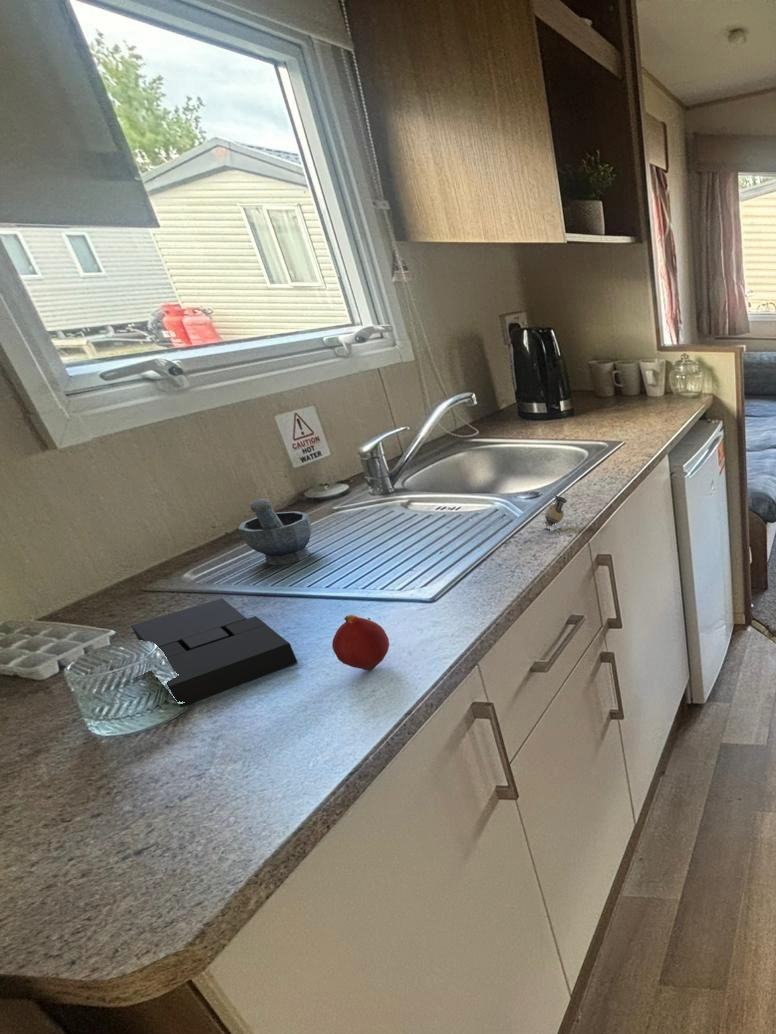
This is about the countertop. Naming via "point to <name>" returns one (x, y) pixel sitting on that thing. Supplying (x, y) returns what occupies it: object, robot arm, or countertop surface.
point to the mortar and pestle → (277, 533)
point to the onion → (360, 643)
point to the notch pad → (227, 660)
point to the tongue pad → (190, 625)
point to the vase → (554, 511)
